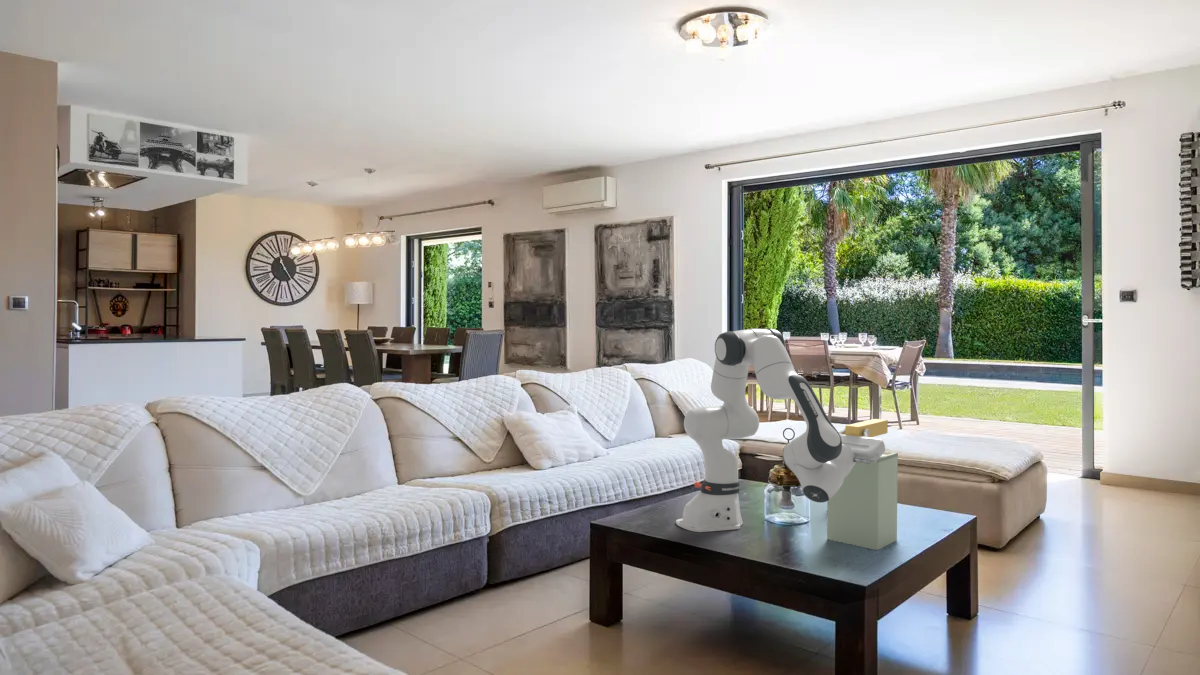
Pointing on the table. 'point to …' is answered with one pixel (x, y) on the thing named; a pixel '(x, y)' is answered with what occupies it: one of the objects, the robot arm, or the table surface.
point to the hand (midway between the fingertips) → (857, 430)
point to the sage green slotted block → (866, 505)
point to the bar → (873, 426)
